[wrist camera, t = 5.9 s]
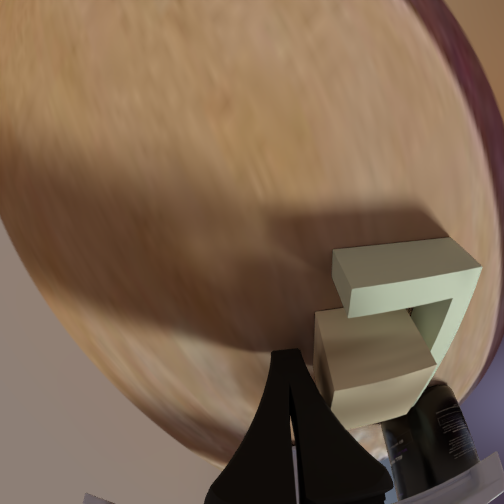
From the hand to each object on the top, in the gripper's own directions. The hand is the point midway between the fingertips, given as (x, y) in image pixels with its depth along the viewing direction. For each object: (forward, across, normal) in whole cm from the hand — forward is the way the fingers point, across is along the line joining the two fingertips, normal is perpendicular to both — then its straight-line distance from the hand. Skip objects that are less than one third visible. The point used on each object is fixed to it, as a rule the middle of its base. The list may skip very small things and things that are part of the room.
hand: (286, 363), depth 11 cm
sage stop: (+1, -4, 0) cm, 5 cm away
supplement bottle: (+1, -11, +11) cm, 16 cm away
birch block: (+1, -3, 0) cm, 4 cm away
